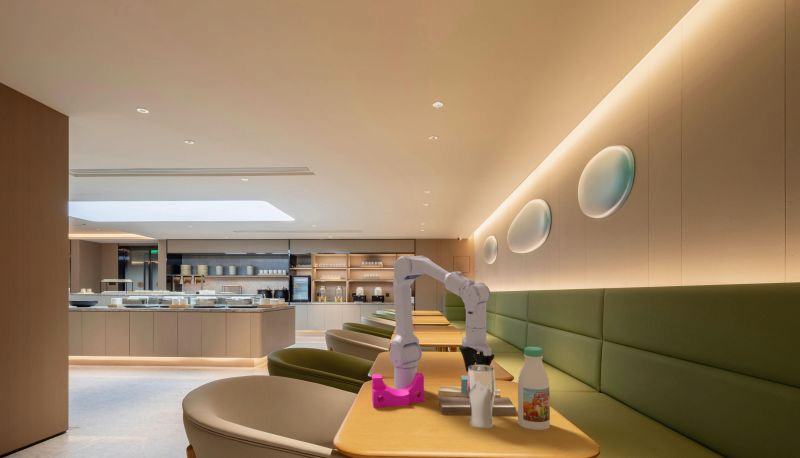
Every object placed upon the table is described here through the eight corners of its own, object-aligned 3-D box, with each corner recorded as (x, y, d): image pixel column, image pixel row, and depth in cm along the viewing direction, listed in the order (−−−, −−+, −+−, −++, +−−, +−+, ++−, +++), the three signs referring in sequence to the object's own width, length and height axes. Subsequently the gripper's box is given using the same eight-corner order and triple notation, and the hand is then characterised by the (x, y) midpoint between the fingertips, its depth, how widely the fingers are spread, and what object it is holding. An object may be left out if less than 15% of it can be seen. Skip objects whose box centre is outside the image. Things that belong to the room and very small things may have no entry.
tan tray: (440, 395, 142) (440, 385, 142) (500, 399, 138) (500, 389, 138) (438, 400, 137) (438, 390, 137) (500, 405, 133) (500, 395, 134)
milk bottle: (512, 427, 117) (512, 348, 117) (527, 419, 122) (526, 343, 123) (541, 436, 111) (540, 353, 112) (555, 427, 117) (554, 347, 118)
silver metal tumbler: (478, 435, 112) (478, 373, 112) (462, 425, 118) (462, 366, 119) (501, 430, 115) (501, 369, 116) (483, 420, 122) (483, 363, 122)
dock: (439, 404, 133) (439, 396, 133) (508, 404, 133) (508, 396, 133) (441, 414, 125) (441, 406, 125) (515, 414, 125) (515, 407, 125)
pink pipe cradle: (373, 407, 131) (373, 380, 132) (371, 399, 138) (372, 374, 138) (425, 405, 133) (425, 378, 133) (421, 397, 139) (421, 372, 140)
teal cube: (461, 388, 139) (461, 375, 139) (474, 389, 138) (474, 376, 139) (461, 393, 135) (461, 379, 135) (475, 393, 134) (475, 380, 135)
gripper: (452, 323, 136) (452, 369, 135) (474, 332, 122) (474, 384, 122) (474, 321, 138) (474, 367, 137) (498, 331, 124) (498, 382, 124)
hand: (476, 375), depth 130 cm, fingers open, 7 cm apart
